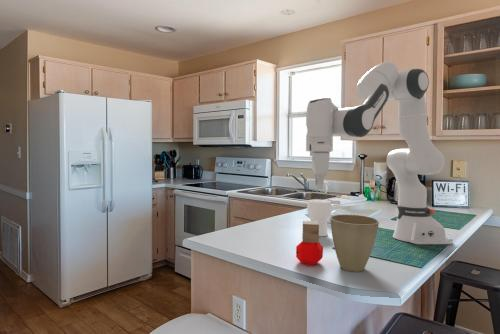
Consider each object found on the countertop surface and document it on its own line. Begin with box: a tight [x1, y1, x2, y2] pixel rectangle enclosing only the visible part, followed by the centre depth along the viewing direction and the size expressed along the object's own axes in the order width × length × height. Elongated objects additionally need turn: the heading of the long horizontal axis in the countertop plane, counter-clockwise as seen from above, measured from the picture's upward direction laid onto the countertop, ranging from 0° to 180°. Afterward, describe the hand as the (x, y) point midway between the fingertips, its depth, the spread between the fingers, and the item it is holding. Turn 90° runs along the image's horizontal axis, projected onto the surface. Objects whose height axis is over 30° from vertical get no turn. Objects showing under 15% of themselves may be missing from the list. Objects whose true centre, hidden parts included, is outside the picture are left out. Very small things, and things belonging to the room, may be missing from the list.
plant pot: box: [329, 214, 380, 273], centre depth 111 cm, size 15×15×16 cm
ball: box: [295, 240, 324, 266], centre depth 116 cm, size 8×8×8 cm
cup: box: [306, 198, 333, 237], centre depth 154 cm, size 11×11×15 cm
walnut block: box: [302, 220, 320, 243], centre depth 115 cm, size 5×5×6 cm
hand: (319, 186), depth 118 cm, fingers open, 8 cm apart
